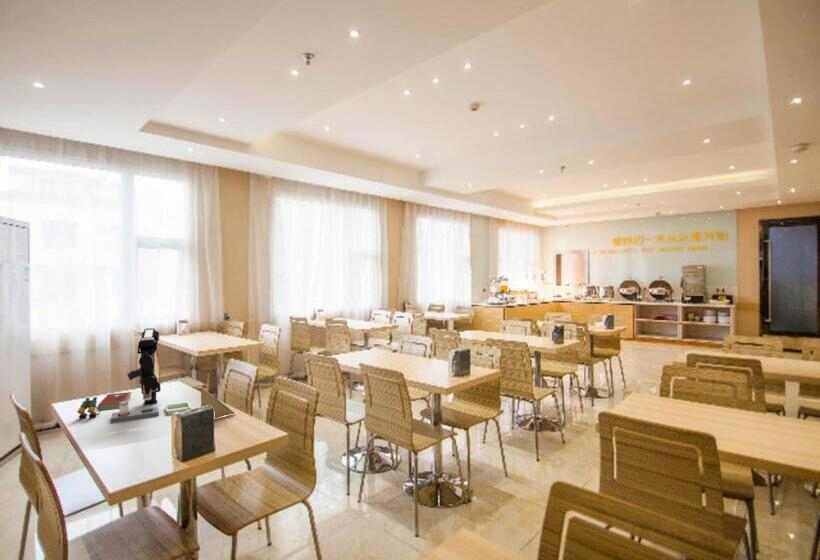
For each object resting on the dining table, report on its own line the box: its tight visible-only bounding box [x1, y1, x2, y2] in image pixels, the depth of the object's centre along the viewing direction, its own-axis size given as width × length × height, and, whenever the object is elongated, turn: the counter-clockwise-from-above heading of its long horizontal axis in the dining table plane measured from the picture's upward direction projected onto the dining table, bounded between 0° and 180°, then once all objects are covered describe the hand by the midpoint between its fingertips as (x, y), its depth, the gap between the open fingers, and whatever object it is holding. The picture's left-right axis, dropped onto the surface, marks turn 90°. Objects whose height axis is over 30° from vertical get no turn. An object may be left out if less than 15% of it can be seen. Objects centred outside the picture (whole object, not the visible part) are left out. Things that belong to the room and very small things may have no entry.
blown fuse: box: [142, 385, 151, 401], centre depth 218 cm, size 4×4×8 cm
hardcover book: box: [97, 391, 132, 411], centre depth 239 cm, size 12×21×4 cm, turn 25°
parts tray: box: [164, 401, 192, 416], centre depth 226 cm, size 12×11×2 cm
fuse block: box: [110, 406, 160, 424], centre depth 216 cm, size 10×20×2 cm, turn 123°
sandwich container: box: [200, 388, 235, 418], centre depth 218 cm, size 9×15×15 cm, turn 134°
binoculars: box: [76, 396, 102, 419], centre depth 216 cm, size 9×9×10 cm
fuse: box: [118, 401, 129, 416], centre depth 213 cm, size 4×4×8 cm
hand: (147, 393), depth 218 cm, fingers closed on blown fuse, 4 cm apart
